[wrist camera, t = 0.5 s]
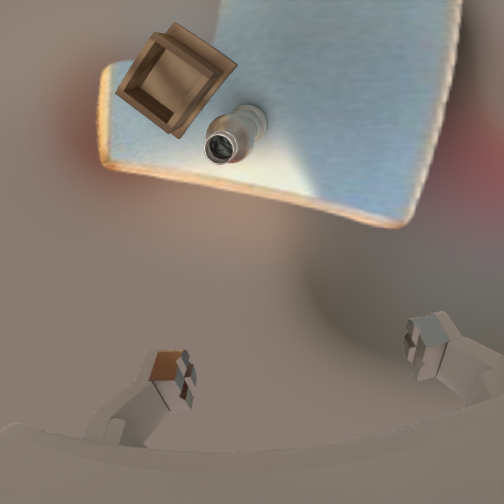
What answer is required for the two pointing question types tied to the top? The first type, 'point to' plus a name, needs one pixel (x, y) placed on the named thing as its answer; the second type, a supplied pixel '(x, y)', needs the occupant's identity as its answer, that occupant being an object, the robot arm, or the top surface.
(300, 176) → the top surface
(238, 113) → the plastic bottle
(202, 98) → the bottle caddy
